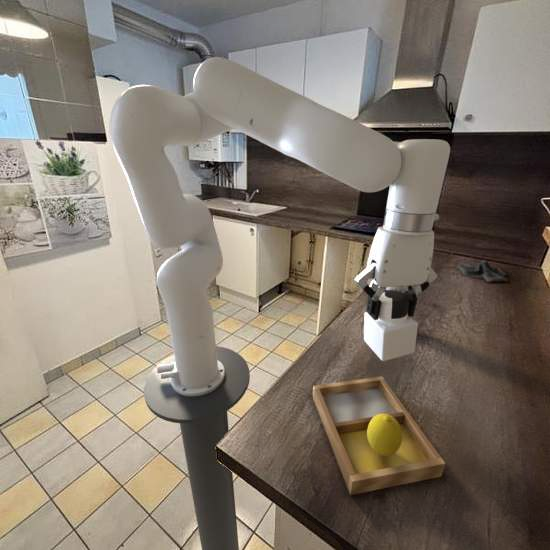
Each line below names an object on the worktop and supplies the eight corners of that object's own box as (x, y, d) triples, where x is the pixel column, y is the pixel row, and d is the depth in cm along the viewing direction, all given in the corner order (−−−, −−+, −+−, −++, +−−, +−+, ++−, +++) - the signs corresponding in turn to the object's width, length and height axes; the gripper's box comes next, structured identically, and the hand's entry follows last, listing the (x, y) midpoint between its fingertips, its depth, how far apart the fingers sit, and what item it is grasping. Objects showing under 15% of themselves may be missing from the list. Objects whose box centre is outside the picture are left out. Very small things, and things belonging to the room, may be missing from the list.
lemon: (394, 472, 48) (403, 438, 44) (360, 456, 50) (366, 422, 47) (399, 445, 52) (408, 412, 49) (368, 431, 55) (374, 399, 51)
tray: (350, 495, 45) (352, 481, 44) (312, 397, 63) (313, 385, 62) (441, 476, 48) (445, 463, 47) (379, 387, 66) (382, 376, 65)
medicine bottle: (393, 332, 63) (397, 283, 57) (415, 353, 56) (421, 299, 51) (363, 340, 61) (364, 290, 56) (382, 362, 55) (385, 308, 50)
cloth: (503, 286, 116) (508, 272, 113) (452, 273, 128) (455, 260, 126) (514, 271, 130) (518, 258, 128) (467, 261, 142) (470, 249, 140)
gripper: (438, 215, 53) (417, 301, 60) (349, 217, 50) (339, 308, 57) (470, 225, 46) (443, 321, 53) (371, 228, 43) (356, 330, 50)
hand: (389, 313), depth 55 cm, fingers closed on medicine bottle, 6 cm apart
